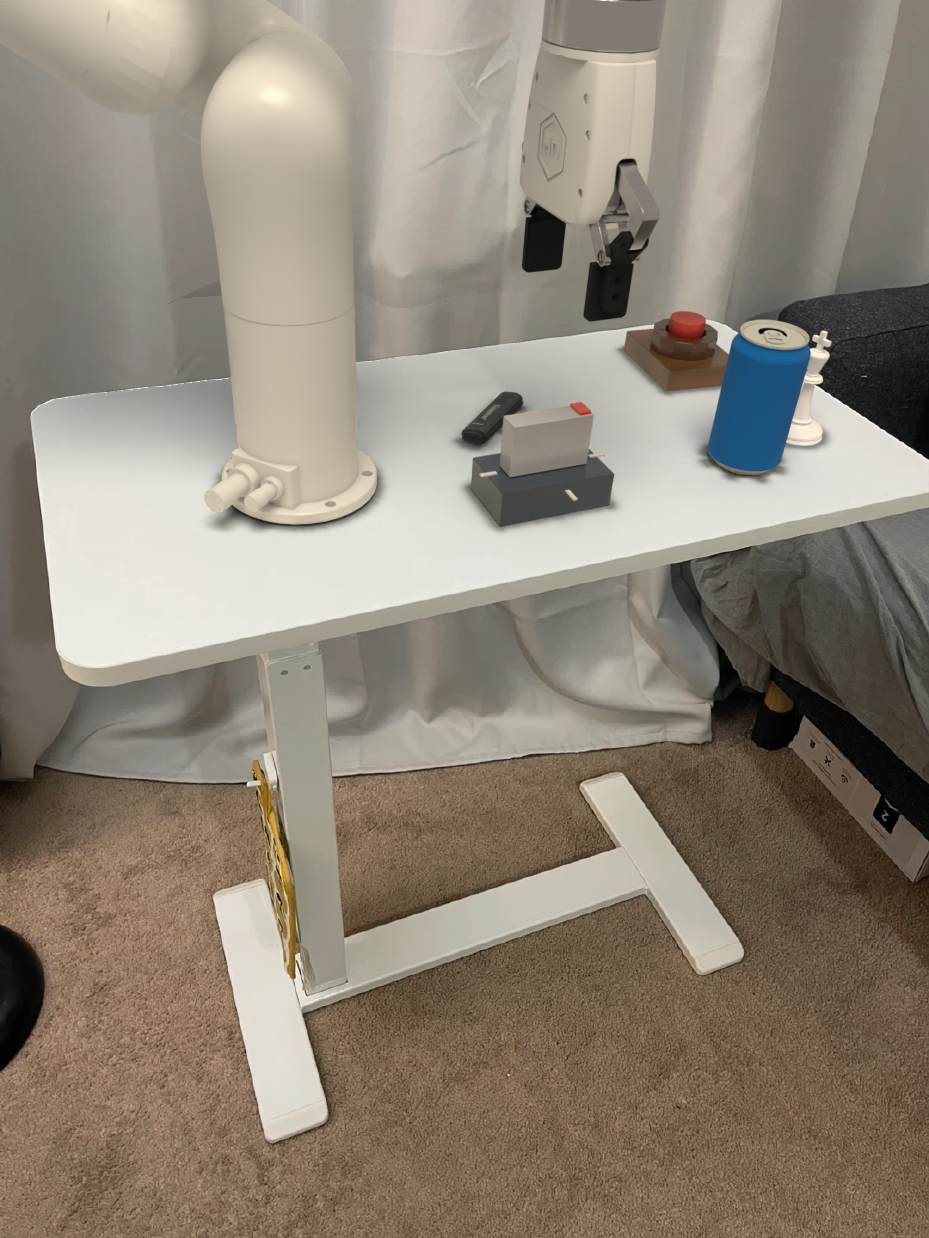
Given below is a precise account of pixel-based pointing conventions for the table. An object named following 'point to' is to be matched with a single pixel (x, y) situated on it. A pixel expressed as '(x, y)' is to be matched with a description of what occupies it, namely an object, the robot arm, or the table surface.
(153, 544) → the table surface
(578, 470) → the dark grey marked platform
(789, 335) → the beverage can
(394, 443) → the table surface
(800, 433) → the chess piece
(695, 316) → the button
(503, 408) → the usb stick
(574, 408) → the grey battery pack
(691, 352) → the button block
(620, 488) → the table surface
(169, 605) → the table surface
